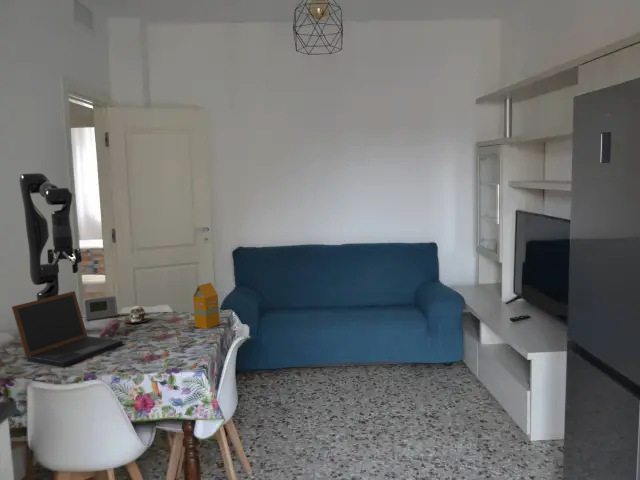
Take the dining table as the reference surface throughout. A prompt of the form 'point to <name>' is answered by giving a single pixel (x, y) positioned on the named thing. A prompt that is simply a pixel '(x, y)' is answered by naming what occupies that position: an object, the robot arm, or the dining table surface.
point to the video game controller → (110, 329)
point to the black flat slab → (74, 351)
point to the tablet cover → (49, 322)
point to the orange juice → (206, 306)
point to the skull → (137, 315)
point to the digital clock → (100, 307)
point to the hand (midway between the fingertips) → (65, 272)
